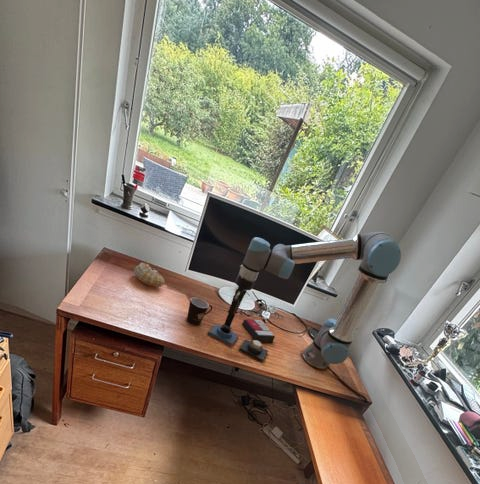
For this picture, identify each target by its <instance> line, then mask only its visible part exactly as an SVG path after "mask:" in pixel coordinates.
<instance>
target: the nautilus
mask: <svg viewBox="0 0 480 484" xmlns="http://www.w3.org/2000/svg"><path fill="white" fill-rule="evenodd" d="M150 265H152V263H150V262H147V261H145V262H140V263H139V264H137V265H136V266H135V267H134V268H133V272H134V275H135V277H136V279H137V280H138V281H140V282H142V283H144V284H145V285H147V286H151V287H157V288H158V287H163V285H164V284H165V282H166V281H165V277H163V276H162V275H161V273H160V272H159V271H158V270H157V269H156V268H155V267H154V268H153V267H152V266H150Z"/></svg>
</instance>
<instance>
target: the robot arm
mask: <svg viewBox="0 0 480 484" xmlns="http://www.w3.org/2000/svg"><path fill="white" fill-rule="evenodd" d="M270 247H271V244H270V243H269V241H267V240H265V239H264V238H261V237H257V236H255V237H253V238H252V239H251V241H250V243H249V245H248V248H247V249H246V254H245V256H244V259H243V261H242V264H240V265H239V268H240V269H239V272H238V274H237V277H236V279H235V285H236V286H237V288H236V289H235V290H234V295H233V296H232V301H231V303H230V306H229V309H228V310H227V316H226V319H225V322H224V325H226V326H228V327H231V326H232V323H233V321H234V318H235V315H237V314H238V310H239V308H240V306H241V303H242V301H243V299H244V297H245V296H246V294H247V291H251V290H252V289H253V287H254V284H255V282H256V280H257V278H258V276H259V274H260V271H261V269H262V270H264V271H266V272H268V273H271V274H272V275H274V276H277V277H278V278H281V279H284V280H288V279H289V278H290V276H291V275H292V272H293V270H294V267H295V265H296V264H307V263H316V262H327V261H337V260H346V259H352V260H354V261H361V262H360V264H359V266H358V268H357V272H358V273H359V275H358V276H357V279H356V281H355V283H354V285H353V287H352V289H351V291H350V294H349V295H348V297H347V300H346V301H345V303H344V306H343V308H342V309H341V312H340V313H339V316H338V318H337V319H335V318H329V317H328V318H326V320H325V321H324V322H323V324H322V326H321V328H320V329H319V332H318V333H317V334H316V336H315V338H314V340H313V341H312V342H311V343H310V344H308V346H307V347H305V348H304V349H303V350H302V352H301V356H302V359H303V360H304V361H305V363H307V364H308V365H309V366H311V367H312V368H315V369H316V370H321V371H323V370H327V369H328V370H329V371H330V372H331V373H332V375H334V377H336V378H337V379H338V380H339V381H340V382H341V383H342V384H343V385H344V386H345V387H346V388H348V389H349V390H350V391H352V392H353V393H355V394H356V395H357V396H359V397H360V398H363V399H364V402H365V403H366V404H368V399H367V397H366V396H365V395H363V394H361V393H359V392H358V391H356V390H355V389H353V387H351V386H349V385H348V384H347V383H346V382H345V381H343V379H341V377H339V376H338V374H336V373H335V371H333V369H331V367H330V365H338V364H342V363H344V362H345V361H346V360H347V359H348V358H349V353H350V350H349V348H350V347H351V345H352V343H353V341H354V336H353V335H354V332H355V330H356V328H357V327H358V325H359V323H360V320H361V319H362V317H363V316H364V313H365V311H366V310H367V307H369V304H370V302H371V300H372V298H373V296H374V295H375V293H376V291H377V289H378V287H379V285H380V284H381V283H383V282H385V281H386V280H387V278H388V277H389V275H390V274H392V273H394V271H396V270H397V268H398V267H399V265H400V263H401V259H402V251H401V248H400V246H399V244H398V242H397V241H396V240H394V239H393V238H392V236H391V235H390V234H388V233H387V232H383V231H374V232H373V231H372V232H366V233H359V234H355V235H354V236H353V237H348V238H339V239H332V240H323V241H315V242H306V243H298V244H291V245H285V244H284V243H283V244H282V243H278V244H276V245H274V246H273V248H272V249H271V248H270Z"/></svg>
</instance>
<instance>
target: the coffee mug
mask: <svg viewBox="0 0 480 484" xmlns="http://www.w3.org/2000/svg"><path fill="white" fill-rule="evenodd" d="M188 305H189V306H188V312H187V315H186V321H187V323H188V324H190V325H192V326H200V325H201V323H202V322H203V320H204V317H205V316H206V315H208V314H209V313H211V312H212V310H213V306H212V305H211V304H209V303H208V302H207V301H206V300H205V299H203V298H200V297H191V298H190V300H189V304H188ZM209 307H210V309H209ZM208 309H209V310H208Z"/></svg>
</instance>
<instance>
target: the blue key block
mask: <svg viewBox="0 0 480 484" xmlns="http://www.w3.org/2000/svg"><path fill="white" fill-rule="evenodd" d="M222 325H223V324H221V325H220V324H217V323H215V325H213V327H212V328H211V329H210V330H209V331H208V333H207V334H208V336H210V337H212V338H214V339H216V340H217V341H220V342H221V343H223V344H226V345H228V346H229V347H232V346H233V345H234V343H235V342H236V340H237V339H238V337H239V335H238V334H237V333H235V332H234V331H233V329H231V330H230V333H225V332H223V331H222V330H221V327H222Z"/></svg>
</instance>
